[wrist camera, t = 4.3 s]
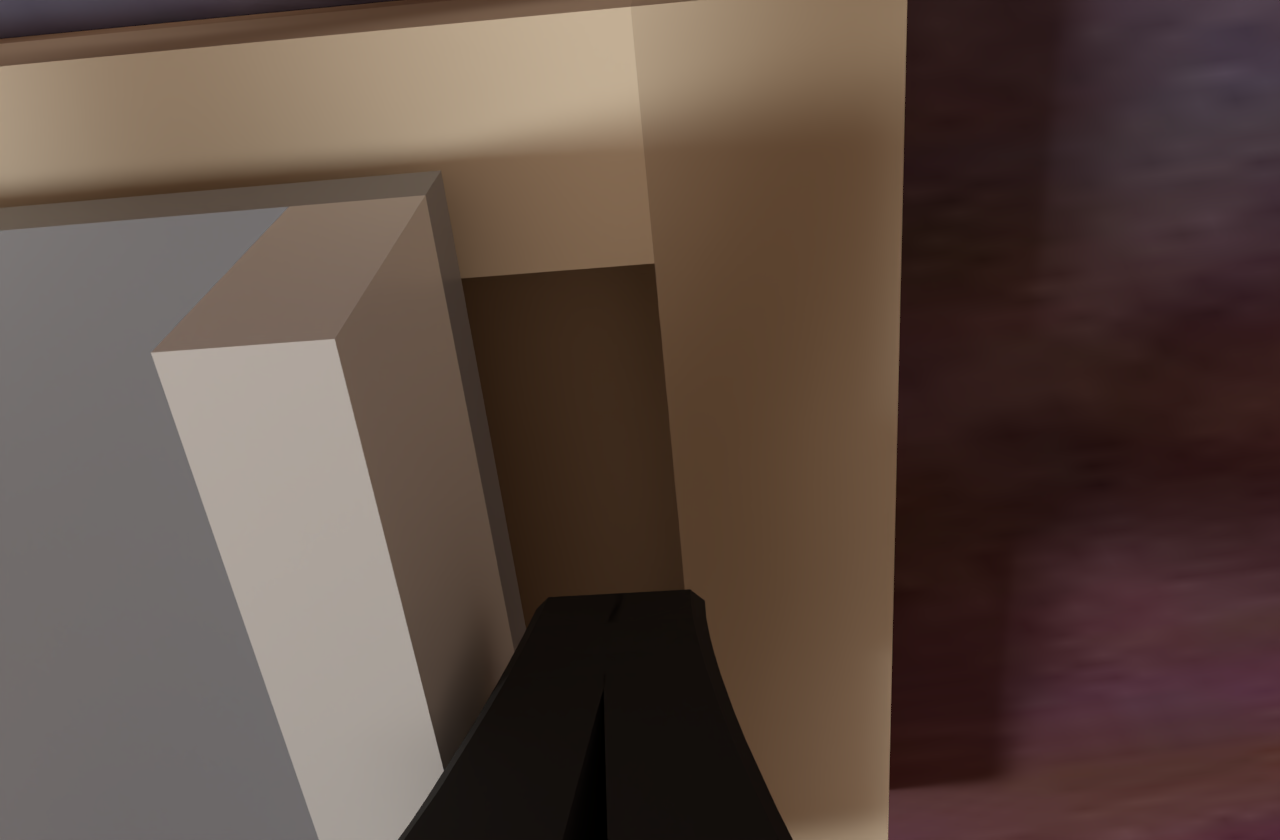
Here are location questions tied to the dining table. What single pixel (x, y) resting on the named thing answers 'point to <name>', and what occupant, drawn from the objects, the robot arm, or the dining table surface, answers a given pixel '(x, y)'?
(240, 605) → the cover
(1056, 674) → the dining table surface
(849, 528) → the board
